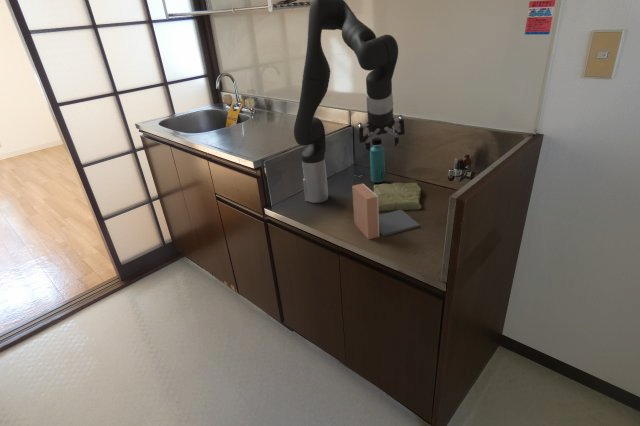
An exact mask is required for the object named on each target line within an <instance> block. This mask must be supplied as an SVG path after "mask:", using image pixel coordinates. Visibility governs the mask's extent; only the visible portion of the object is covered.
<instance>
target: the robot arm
mask: <svg viewBox="0 0 640 426" xmlns="http://www.w3.org/2000/svg"><path fill="white" fill-rule="evenodd" d="M349 6H350V5H349V4H348V3H346V1H345V0H311V1H310V6H309V11H308V22H307V23H308V26H307V45H306V53H305V60H304V68H303V71H302V72H303V73H302V80H301V91H300V97H299V102H298V103H299V104H298V109H297V114H296V118H295V121H294V124H293V125H294V126H293V137H294V140H295V142H296V144H298V145H299V146H301V147H302V146H303V147H305V146H306V148H305V149H304V150H303V151H302V152H301V155H300V156H301V157H300V158H301V164H302V171H303V174H302V175H303V179H302V186H303V192H304V193H303V194H304V202H309V203H312V204H317V203H323V202H325V201H327V200H328V199H329V190H328V179H327V170H326V169H327V168H326V155H325V154H326V152H327V151H326V150H327V146H326V143H327V142H326V131H325V125H324V123H323V121H322V120H321V119H320V118H318V117H315V113H316V111H317V109H318V107H319V106H320V105H321V103H322V102H323V100H324V98H325V96H326V94H327V92H328V88H329V83H330V78H331V68H330V64H329V62H328V60H327V59H328V58H327V57H326V55H325V53H324V50H323V46H322V32H323V30H324V31H325V30H326V31H327V30H329V31H336V30H339V31H341V38H342V41H343V42H344V43H345V45H346V46H347V47H348V48H350V49H351V50H352V51H353V52H354V54H355V56H356V58H357V62H358V64H359V66H360V68H361V69H362V70H365V71H367V72H368V71H369V73H368V74H367V75H366V78H365V85H366V86H365V87H366V111H367V123H361V122H358V123H357V133H358V134H357V136H358V137H357V138H358V141H359V143H360V144H362V143H364V146H365V149H366V151H368V152H370V148H371V141H372V139H373V138H375V136H379V135H384V134H385V135H386V134H387V133H389V134H390V135H392V141H393V146H394V147H397V145H398V144H399V142H400V140H399V137H400V136H404V135H405V133H406V132H405V130H406V129H405V121H404V118H403V115H402V114H399V115H398V117H395V118H394V97H393V84H392V83H393V80H392V79H393V75H394V72H395V68H396V66H397V62H398V57H399V46H398V42H397V40H396V38H395V37H393V36H392V35H391V34H383V35H380V36H379V37H377V35H376V33H375V32H374V31H373V30H372V29H371V28H370V27H368V25H366V24H365V23H363V22H362V21H361V20H359V19H358V18H357V15H355V13H354V12H353V11H352V9H351V8H350V7H349ZM395 124H397V125H398V129H396V128H395V127H394V125H395ZM366 129H367V131H366ZM365 131H366V133H365V135H364V132H365Z"/></svg>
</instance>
